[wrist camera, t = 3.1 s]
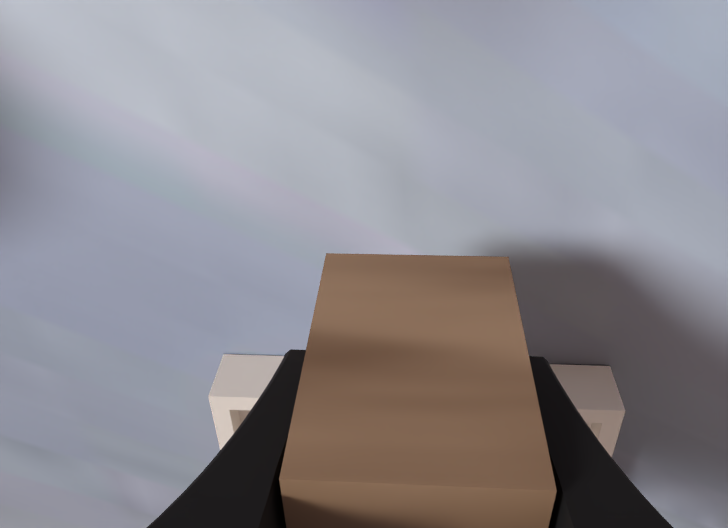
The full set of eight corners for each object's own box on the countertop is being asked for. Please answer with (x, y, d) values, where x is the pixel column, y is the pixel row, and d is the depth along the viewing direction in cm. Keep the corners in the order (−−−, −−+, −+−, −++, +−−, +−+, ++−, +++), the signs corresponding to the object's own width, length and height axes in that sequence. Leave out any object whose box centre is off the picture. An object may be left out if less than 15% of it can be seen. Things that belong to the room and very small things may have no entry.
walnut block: (492, 388, 16) (523, 632, 12) (334, 383, 17) (300, 619, 12) (508, 257, 14) (556, 490, 9) (326, 253, 14) (278, 478, 10)
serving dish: (553, 580, 29) (561, 626, 28) (264, 565, 30) (255, 608, 29) (610, 366, 22) (625, 410, 20) (223, 354, 23) (208, 396, 21)
